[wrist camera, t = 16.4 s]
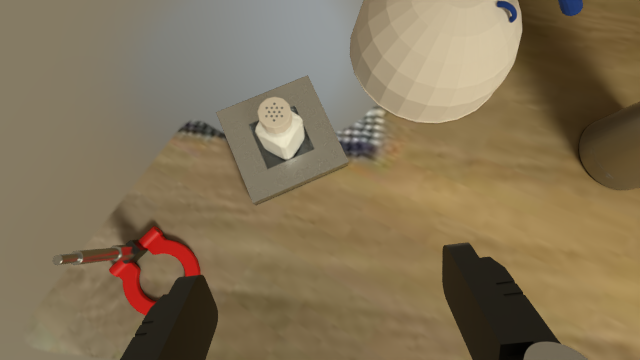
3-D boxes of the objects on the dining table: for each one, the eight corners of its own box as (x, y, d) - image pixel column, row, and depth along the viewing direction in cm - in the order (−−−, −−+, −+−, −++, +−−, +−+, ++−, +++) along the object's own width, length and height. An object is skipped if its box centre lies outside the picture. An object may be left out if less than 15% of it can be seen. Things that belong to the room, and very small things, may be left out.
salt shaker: (262, 148, 40) (245, 119, 31) (279, 121, 41) (267, 85, 32) (290, 164, 40) (281, 139, 31) (306, 136, 41) (303, 104, 31)
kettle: (384, -37, 46) (424, -211, 29) (524, 21, 45) (659, -127, 27) (321, 83, 43) (322, -32, 25) (471, 150, 41) (586, 79, 23)
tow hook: (216, 275, 38) (162, 219, 39) (171, 296, 26) (92, 213, 27) (162, 331, 37) (107, 272, 38) (86, 382, 25) (6, 293, 25)
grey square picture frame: (308, 83, 43) (307, 75, 41) (347, 165, 41) (348, 161, 39) (220, 118, 42) (216, 112, 40) (256, 205, 40) (252, 203, 38)
